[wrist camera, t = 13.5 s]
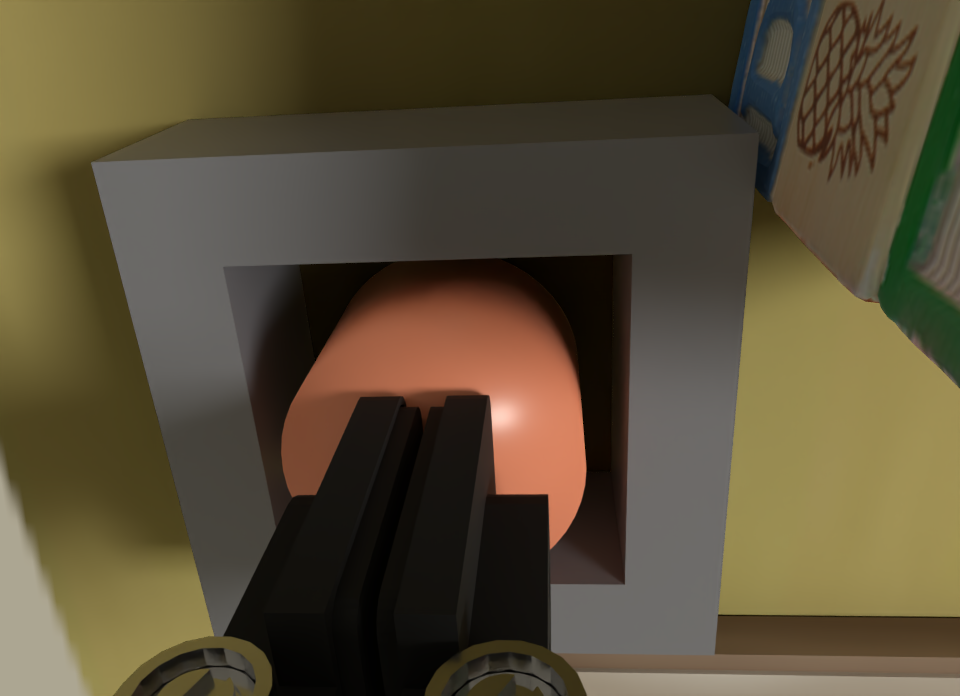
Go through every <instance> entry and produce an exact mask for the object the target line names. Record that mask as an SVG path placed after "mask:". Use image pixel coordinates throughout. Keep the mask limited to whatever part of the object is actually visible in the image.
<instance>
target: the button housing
mask: <svg viewBox="0 0 960 696" xmlns="http://www.w3.org/2000/svg"><path fill="white" fill-rule="evenodd" d="M759 134H760V133H759V132H758V131H756V130H755V129H754V128H753V127H751V126H750V125H749V124H748V123H747V122H745V121H744V120H743V119H742V118H740V117H739V116H738V115H737V114H735V113H734V112H733V111H732V110H730V109H729V108H728V107H727V106H725V105H724V104H723V103H722V102H720V101H719V100H718V99H717V98H716V97H714V96H713V95H712V94H708V95H688V96H667V97H646V98H626V99H605V100H585V101H564V102H543V103H523V104H502V105H481V106H461V107H440V108H419V109H399V110H378V111H357V112H337V113H316V114H296V115H275V116H254V117H234V118H213V119H192V120H186V121H184V122H182V123H179V124H177V125H175V126H173V127H170V128H168V129H166V130H163V131H161V132H159V133H157V134H154V135H152V136H150V137H148V138H145V139H143V140H141V141H138V142H136V143H134V144H132V145H129V146H127V147H125V148H123V149H120V150H118V151H116V152H113V153H111V154H109V155H107V156H104V157H102V158H100V159H97V160H95V161H93V162H91V164H92V168H93V172H94V176H95V180H96V184H97V187H98V191H99V195H100V199H101V203H102V207H103V210H104V214H105V218H106V222H107V226H108V230H109V233H110V237H111V241H112V245H113V249H114V253H115V256H116V260H117V264H118V268H119V272H120V276H121V279H122V283H123V287H124V291H125V295H126V299H127V302H128V306H129V310H130V314H131V318H132V322H133V325H134V329H135V333H136V337H137V341H138V345H139V348H140V352H141V356H142V360H143V364H144V368H145V371H146V375H147V379H148V383H149V387H150V391H151V394H152V398H153V402H154V406H155V410H156V414H157V417H158V421H159V425H160V429H161V433H162V437H163V440H164V444H165V448H166V452H167V456H168V460H169V463H170V467H171V471H172V475H173V479H174V483H175V486H176V490H177V494H178V498H179V502H180V506H181V509H182V513H183V517H184V521H185V525H186V529H187V532H188V536H189V540H190V544H191V548H192V552H193V555H194V559H195V563H196V567H197V571H198V575H199V578H200V582H201V586H202V590H203V594H204V598H205V601H206V605H207V609H208V613H209V617H210V621H211V624H212V628H213V632H214V636H217V637H223V635H224V633H225V631H226V629H227V627H228V625H229V623H230V621H231V619H232V617H233V615H234V613H235V611H236V609H237V607H238V605H239V603H240V601H241V599H242V597H243V595H244V593H245V590H246V588H247V586H248V584H249V582H250V580H251V578H252V576H253V574H254V572H255V570H256V568H257V566H258V564H259V562H260V560H261V558H262V556H263V554H264V552H265V550H266V548H267V546H268V544H269V542H270V540H271V538H272V536H273V534H274V532H275V530H276V528H277V525H278V523H279V521H280V519H281V517H282V515H283V513H284V511H285V509H286V507H287V505H288V504H289V502H290V501H291V499H292V496H291V494H290V492H289V489H288V487H287V483H286V480H285V476H284V472H283V466H282V457H281V444H282V433H283V428H284V423H285V419H286V416H287V414H288V411H289V408H290V405H291V403H292V401H293V400H294V398H295V396H296V394H297V392H298V391H299V389H300V387H301V385H302V384H303V382H304V380H305V379H306V377H307V375H308V373H309V372H310V370H311V368H312V366H313V365H314V363H315V359H314V353H313V347H312V341H311V335H310V328H309V322H308V316H307V310H306V303H305V297H304V291H303V285H302V279H301V272H300V266H299V264H326V263H359V262H391V261H423V260H456V259H488V258H520V257H552V256H585V255H613V337H612V420H611V472H586V480H585V488H584V492H583V496H582V501H581V503H580V506H579V508H578V511H577V513H576V516H575V518H574V519H573V521H572V523H571V524H570V526H569V528H568V529H567V531H566V532H565V534H564V535H563V536H562V537H561V538H560V540H559V541H558V542H557V543H556V545H554V546H553V547H552V548H551V549H550V573H551V651H552V652H554V653H574V654H646V655H715V644H716V632H717V620H718V609H719V597H720V586H721V574H722V562H723V551H724V539H725V528H726V516H727V504H728V493H729V481H730V470H731V458H732V446H733V435H734V423H735V412H736V400H737V389H738V377H739V365H740V354H741V342H742V331H743V319H744V307H745V296H746V284H747V273H748V261H749V249H750V238H751V226H752V215H753V203H754V191H755V180H756V168H757V157H758V145H759Z"/></svg>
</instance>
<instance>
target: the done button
mask: <svg viewBox="0 0 960 696" xmlns="http://www.w3.org/2000/svg"><path fill="white" fill-rule="evenodd" d="M451 395H489V397H490V403H491V416H492V433H493V450H494V467H495V484H496V494H548V498H549V530H550V549H551V548H552V547H553V546H554V545H556V543H557V542H558V541H559V540H560V538H561V537H562V536H563V535H564V534H565V532H566V531H567V529H568V528H569V526H570V524H571V523H572V521H573V519H574V518H575V516H576V513H577V511H578V508H579V506H580V503H581V501H582V496H583V492H584V488H585V480H586V456H585V443H584V430H583V417H582V404H581V392H580V379H579V366H578V353H577V346H576V342H575V338H574V334H573V332H572V329H571V326H570V324H569V321H568V319H567V318H566V316H565V314H564V312H563V310H562V309H561V307H560V306H559V304H558V303H557V302H556V300H555V299H554V298H553V296H552V295H551V294H550V293H549V292H548V291H547V290H546V289H545V288H544V287H543V286H542V285H541V284H540V283H539V282H538V281H536V280H535V279H534V278H533V277H531V276H530V275H529V274H527V273H526V272H524V271H523V270H521V269H519V268H517V267H516V266H514V265H512V264H510V263H508V262H505V261H503V260H501V259H498V258H488V259H456V260H423V261H397V262H395V263H393V264H391V265H389V266H387V267H385V268H384V269H382V270H381V271H379V272H378V273H377V274H375V275H374V276H373V277H371V278H370V279H369V280H368V281H367V282H366V283H365V284H364V285H363V286H362V287H361V288H360V289H359V290H358V292H357V293H356V294H355V296H354V297H353V298H352V299H351V301H350V303H349V304H348V306H347V308H346V310H345V311H344V313H343V315H342V317H341V318H340V320H339V322H338V323H337V325H336V327H335V329H334V330H333V332H332V334H331V335H330V337H329V339H328V341H327V342H326V344H325V346H324V348H323V349H322V351H321V353H320V354H319V356H318V358H317V360H316V361H315V363H314V365H313V366H312V368H311V370H310V372H309V373H308V375H307V377H306V379H305V380H304V382H303V384H302V385H301V387H300V389H299V391H298V392H297V394H296V396H295V398H294V400H293V401H292V403H291V405H290V408H289V411H288V414H287V416H286V419H285V423H284V428H283V433H282V444H281V457H282V466H283V472H284V476H285V480H286V483H287V487H288V489H289V492H290V494H291V496H292V498H293V497H295V496H297V495H316V494H317V491H318V489H319V487H320V485H321V482H322V480H323V478H324V476H325V473H326V471H327V469H328V467H329V464H330V462H331V460H332V458H333V455H334V453H335V451H336V449H337V447H338V444H339V442H340V440H341V438H342V435H343V433H344V431H345V429H346V426H347V424H348V422H349V420H350V417H351V415H352V413H353V411H354V409H355V406H356V404H357V402H358V400H359V398H360V397H384V396H403V397H404V399H405V402H406V406H407V407H419V408H420V411H421V417H422V426H423V432H424V428H425V425H426V421H427V417H428V414H429V410H430V408H431V407H444V404H445V400H446V397H447V396H451Z"/></svg>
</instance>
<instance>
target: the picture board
mask: <svg viewBox="0 0 960 696" xmlns="http://www.w3.org/2000/svg"><path fill="white" fill-rule="evenodd" d="M555 654H557V655H559V656H561V657H562V658H563V659H564V660H565V661H566V662H567V663H568V664H569V665H570V666H571V667H572V668H573V669H574V670H575V671H576V672H577V673H578V676H579V678H580V680H581V682H582V684H583V687H584V689H585V691H586V694H587V696H960V618H885V617H779V616H718V620H717V632H716V644H715V655H646V654H574V653H555Z"/></svg>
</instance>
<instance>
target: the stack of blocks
mask: <svg viewBox="0 0 960 696" xmlns="http://www.w3.org/2000/svg"><path fill="white" fill-rule="evenodd" d="M728 108H729V109H730V110H732V111H733V112H734V113H735V114H737V115H738V116H739V117H740V118H742V119H743V120H744V121H745V122H747V123H748V124H749V125H750V126H751V127H753V128H754V129H755V130H756V131H758V132H759V133H760V134H759V145H758V157H757V168H756V180H755V188H756V189H757V190H758V191H759V192H760V193H761V195H762V196H763V197H764V198H765V199H766V200H767V201H768V202H772V204H773V207H774V210H775V213H776V214H777V215H778V216H779V217H780V218H781V219H782V220H783V221H784V222H785V223H786V224H787V225H788V226H789V228H790V229H791V230H792V231H793V232H794V233H795V234H796V236H797V237H798V238H799V239H800V240H801V241H802V242H803V244H804V245H805V246H806V247H807V248H808V249H809V250H810V251H811V252H812V253H813V254H814V255H815V256H816V257H817V258H818V259H819V260H820V261H821V262H822V263H823V264H824V266H825V267H826V268H827V269H828V270H829V271H830V272H831V273H832V274H833V275H834V276H835V277H836V278H837V279H838V280H839V281H840V282H841V283H842V284H843V285H844V286H845V287H846V288H847V289H848V290H849V291H850V292H851V293H853V294H854V295H855V296H856V297H858V298H860V299H862V300H864V301H866V302H875V303H880V306H881V308H882V310H883V311H884V313H885V314H886V315H887V317H888V318H890V319H891V320H892V321H893V322H895V323H896V324H897V326H898V327H899V328H900V329H901V331H902V332H903V333H904V334H905V335H906V336H907V337H908V338H909V339H910V340H911V341H912V343H913V344H914V345H916V346H917V347H918V348H919V349H920V350H921V351H922V352H923V353H924V354H925V355H926V356H927V357H928V358H929V359H930V360H932V361H933V362H934V363H935V364H936V365H937V366H938V367H939V368H940V369H941V370H942V371H943V372H944V373H945V374H946V375H947V376H948V377H949V378H950V379H951V380H952V381H953V382H954V383H955V384H956V385H957V386H958V387H959V388H960V0H751V2H750V6H749V9H748V14H747V19H746V24H745V29H744V34H743V39H742V44H741V49H740V53H739V58H738V62H737V67H736V71H735V76H734V80H733V86H732V91H731V96H730V101H729V105H728Z"/></svg>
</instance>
